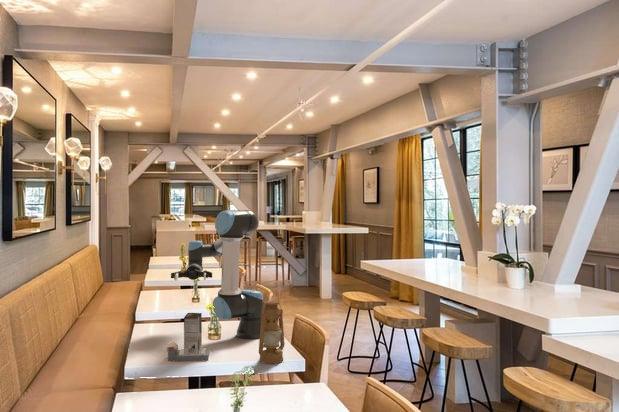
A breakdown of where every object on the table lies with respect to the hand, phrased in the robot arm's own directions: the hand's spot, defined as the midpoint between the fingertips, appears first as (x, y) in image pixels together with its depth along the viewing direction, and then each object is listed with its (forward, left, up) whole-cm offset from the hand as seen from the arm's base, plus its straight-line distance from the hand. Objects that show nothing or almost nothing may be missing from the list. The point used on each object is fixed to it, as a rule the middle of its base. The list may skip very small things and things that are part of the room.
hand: (190, 277), depth 245 cm
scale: (-1, +24, -32) cm, 40 cm away
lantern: (-37, +33, -32) cm, 59 cm away
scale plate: (-3, +24, -30) cm, 38 cm away
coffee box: (-3, +24, -29) cm, 38 cm away
